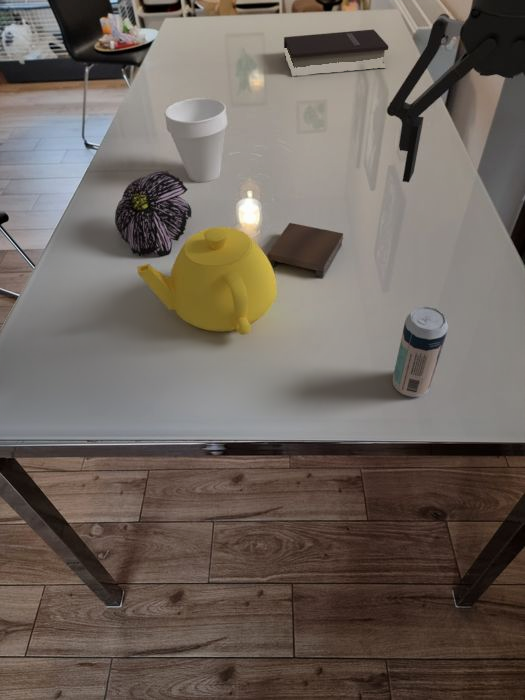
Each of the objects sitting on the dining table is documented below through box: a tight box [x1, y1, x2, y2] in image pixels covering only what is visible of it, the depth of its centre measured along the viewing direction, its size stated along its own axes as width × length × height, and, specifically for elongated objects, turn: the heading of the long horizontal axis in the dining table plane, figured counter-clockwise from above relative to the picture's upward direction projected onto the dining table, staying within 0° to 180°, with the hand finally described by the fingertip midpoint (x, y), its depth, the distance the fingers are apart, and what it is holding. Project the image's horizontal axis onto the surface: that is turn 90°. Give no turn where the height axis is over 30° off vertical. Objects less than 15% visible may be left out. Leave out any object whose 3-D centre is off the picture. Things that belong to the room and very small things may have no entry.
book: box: [283, 29, 389, 68], centre depth 152 cm, size 28×20×6 cm
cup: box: [164, 97, 228, 183], centre depth 103 cm, size 12×12×14 cm
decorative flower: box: [114, 170, 192, 258], centre depth 89 cm, size 15×12×15 cm
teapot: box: [136, 226, 278, 335], centre depth 73 cm, size 20×19×13 cm
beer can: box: [392, 305, 449, 398], centre depth 61 cm, size 5×5×12 cm
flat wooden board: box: [266, 222, 344, 279], centre depth 85 cm, size 10×10×2 cm
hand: (467, 186), depth 58 cm, fingers open, 13 cm apart
